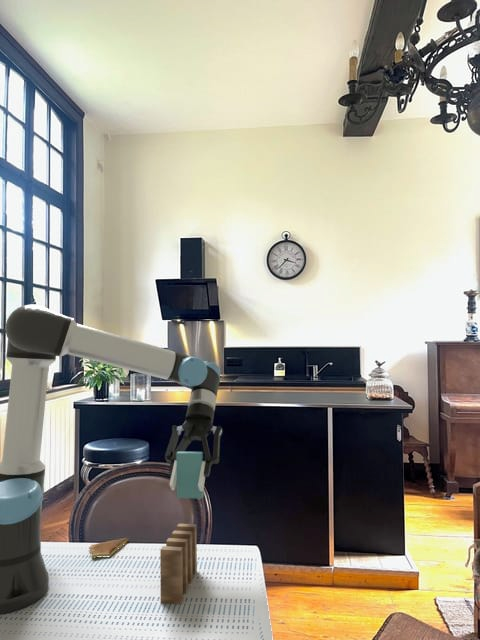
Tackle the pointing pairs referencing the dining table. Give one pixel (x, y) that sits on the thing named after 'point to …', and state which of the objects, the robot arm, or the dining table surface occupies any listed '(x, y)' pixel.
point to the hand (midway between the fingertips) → (186, 487)
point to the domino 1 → (189, 474)
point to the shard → (107, 547)
